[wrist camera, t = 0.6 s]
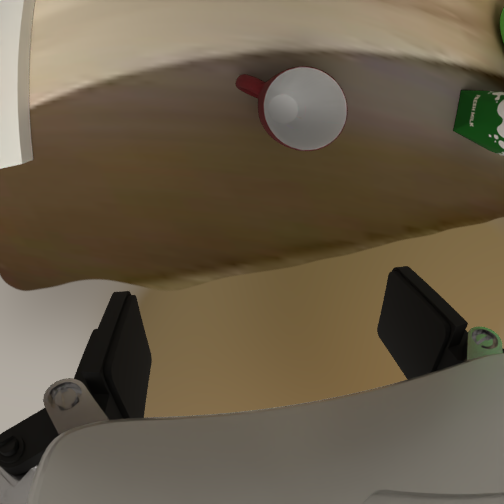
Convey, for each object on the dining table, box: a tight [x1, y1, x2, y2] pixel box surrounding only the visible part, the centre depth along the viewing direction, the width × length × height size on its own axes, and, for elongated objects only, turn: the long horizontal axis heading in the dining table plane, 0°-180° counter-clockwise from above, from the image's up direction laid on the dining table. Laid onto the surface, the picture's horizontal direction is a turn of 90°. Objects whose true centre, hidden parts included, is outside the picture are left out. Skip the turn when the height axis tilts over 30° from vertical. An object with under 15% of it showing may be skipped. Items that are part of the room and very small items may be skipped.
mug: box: [236, 66, 348, 151], centre depth 31 cm, size 10×8×10 cm
